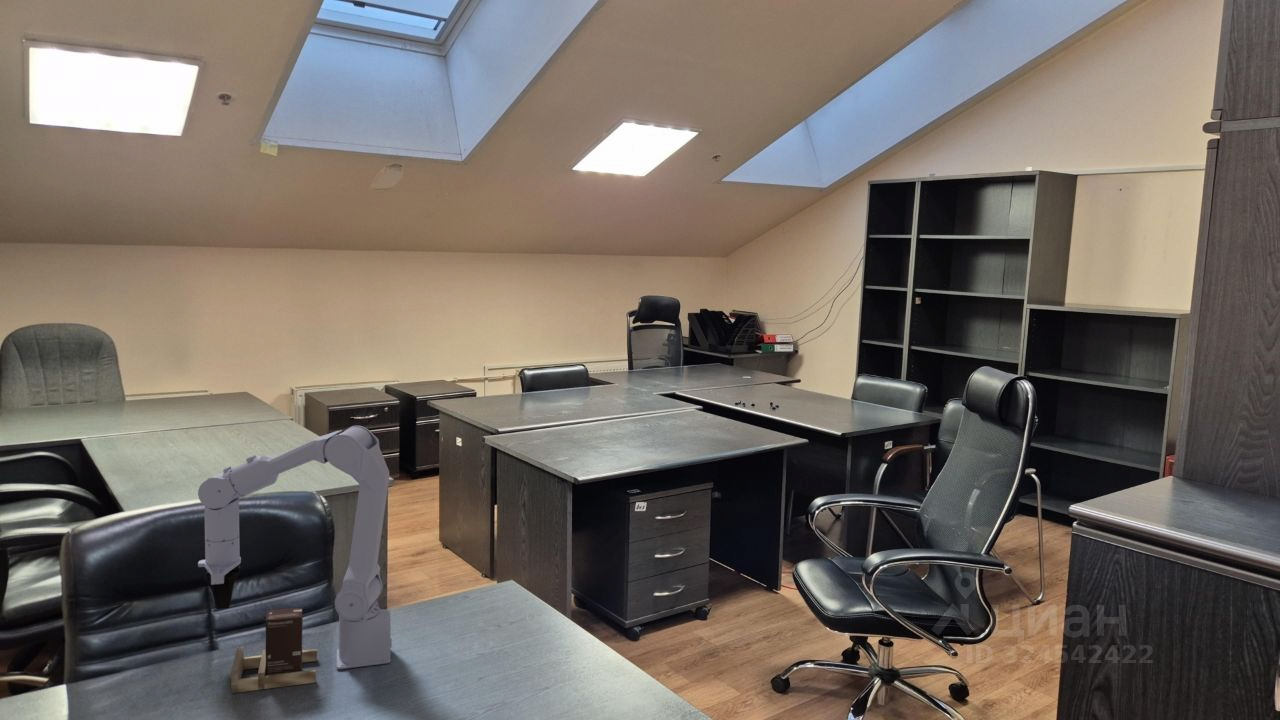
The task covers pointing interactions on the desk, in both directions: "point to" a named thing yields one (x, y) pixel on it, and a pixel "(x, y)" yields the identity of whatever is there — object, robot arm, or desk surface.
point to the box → (284, 641)
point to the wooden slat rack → (262, 679)
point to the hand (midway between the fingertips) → (223, 607)
